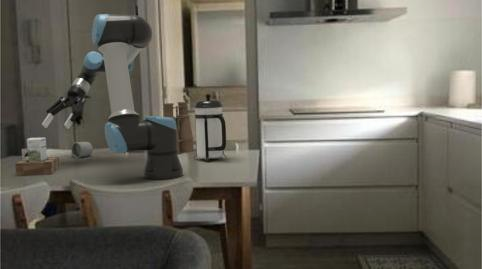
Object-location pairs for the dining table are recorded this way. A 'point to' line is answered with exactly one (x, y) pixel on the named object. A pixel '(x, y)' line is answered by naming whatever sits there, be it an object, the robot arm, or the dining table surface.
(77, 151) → the grey cylinder
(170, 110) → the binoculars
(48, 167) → the holder block
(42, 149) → the syrup box
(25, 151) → the mug
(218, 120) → the coffee press
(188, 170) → the dining table surface
